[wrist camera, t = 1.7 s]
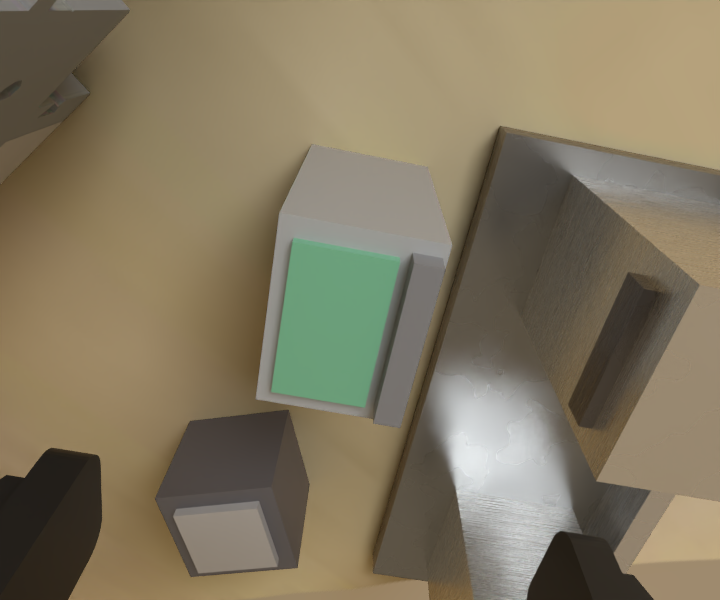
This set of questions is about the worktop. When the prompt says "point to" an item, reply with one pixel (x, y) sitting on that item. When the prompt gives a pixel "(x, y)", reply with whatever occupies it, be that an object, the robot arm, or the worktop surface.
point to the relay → (236, 494)
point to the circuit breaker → (44, 67)
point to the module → (352, 285)
